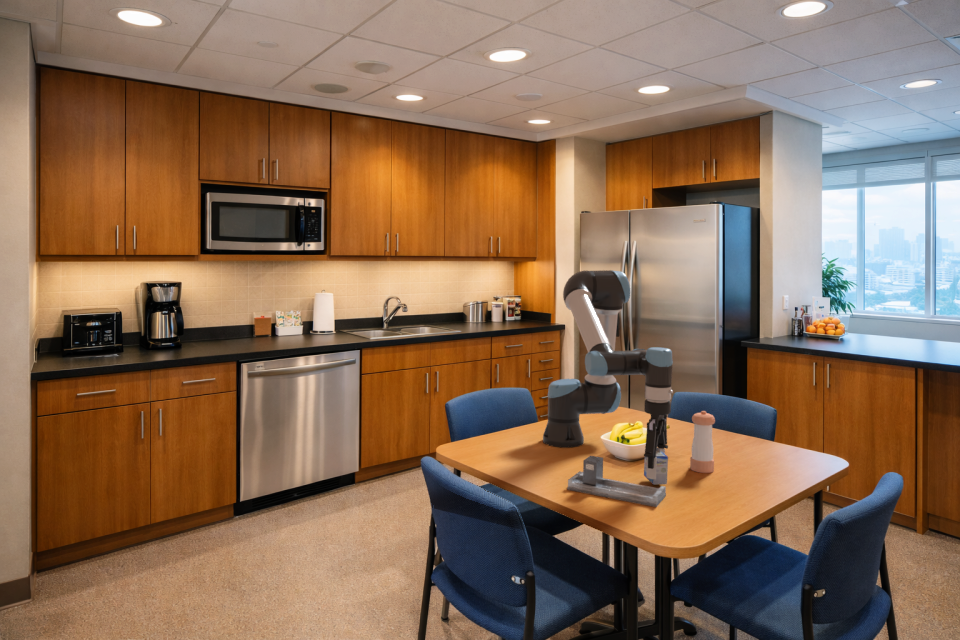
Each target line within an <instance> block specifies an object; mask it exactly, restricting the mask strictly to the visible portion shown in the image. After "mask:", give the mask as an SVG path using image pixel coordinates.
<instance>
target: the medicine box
mask: <svg viewBox="0 0 960 640" xmlns="http://www.w3.org/2000/svg"><path fill="white" fill-rule="evenodd" d="M649 453H650V452H649ZM656 457H657V467H656V480H655V479H649V478H646V470H647V457H645V456H644V462H643V463H644V464H643V465H644V466H643V467H644V468H643V476H644V477H645V478H646V479H647V480H648V481H649V482H650V483H651V484H652V485H668V467H669V465H668V464H669V457H668V455H666V453H665V454H664V453H663V452H662V451H660V450H659V449H657V451H656Z"/></svg>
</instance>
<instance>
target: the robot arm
mask: <svg viewBox="0 0 960 640" xmlns="http://www.w3.org/2000/svg"><path fill="white" fill-rule="evenodd" d="M629 281H630V280H629V279H628V277H627V275H626V273H624V272H623V271H621V270H620V271H619V270H611V269H610V270H604V269H603V270H581V271H577V272H576V273H574V274H573V275H571V276H570V277H569V278H568V280H567V281H566V283H564V287H563V291H562V299H563V301H564V304H565V307H566V308H567V309H568V310H569V311H571V313H572V316H573V318H574V321H575V324H576V326H577V328H578V331H579V333H580V334H579V335H580V336H581V338H582V340H583V343H584V345H585V348H586V350H587V351H586V352H587V353H586V354H585V357H584V365H585V370H586V372H587V374H586V375H585V376H584V382H581V381H580V380H579V379H576V378H561V379H557V380H554V381H551V382H550V384H549V385H548V389H547V391H548V392H547V424H546V426H545V429H544V432H543V434H542V442H543V444H545V445H548V446H550V447H555V448H575V447H580V445H581V446H583V445H584V442H585V441H584V439H585V438H584V434H583V431H582V427H581V424H580V415H592V414H593V415H594V414H596V415H597V414H601V415H605V414H611V413H614V412H615V411H617V410H618V408H619V406H620V403H621V400H622V391H621V390H622V389H621V386H620V384H619V382H617V379H616V377H615V376H630V375H631V376H632V375H633V376H635V375H638V376H639V375H642V376H645V380H644V382H645V384H644V398H645V400H644V412H645V413H646V414H649V415H650V418H649V420H648V422H646V435H645V447H644V448H645V449H644V453H643V457H644V458H645V457H647V470H646V477H645V478H646V479H647V478H649V479H655V480H656V467H657V457H656V451H657V449H659V450H660V451H662V452H663V453H664V454H665V455H666V450H667V449H668V448H669V445H668V428H667V427H668V426H667V423H668V422H667V420H668V415H670V414H671V413H672V412H671V411H672V408H671V407H672V402H671V401H670V400H672V394H674V391H673V389H672V383H673V382H672V381H673V380H672V379H673V363H674V360H673V351H672V349H670V348H667V347H660V346H659V347H658V346H656V347H655V346H653V347H648V348H647V349H645V348H635V349H632V350H615V349H616V339H617V326H618V314H619V313H620V312H621V311H622V310H623V305H624V304H626V303H628V302H629V300H630V297H631V285H630V282H629ZM649 452H650V453H649Z"/></svg>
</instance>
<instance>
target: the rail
mask: <svg viewBox="0 0 960 640" xmlns="http://www.w3.org/2000/svg"><path fill="white" fill-rule="evenodd" d="M582 468H583V469H582V470H583V471H581V470H580V471H578V472H577V473H575V474H574V475H573V476H571V477H570V478H569V479H568V480H567V487H566V488H567V491H573V492H576V493H577V492H578V493H583V494H586V495H594V496H598V497H603V498H608V499H613V500H617V501H623V502H627V503H628V502H629V503H631V504H632V503H633V504H638V505H644V506H647V507H653V508H657V507H658V506H659V505H660V504H661V502H662V501H663V500H664V499H665V497H666V496H667V492H666V489H667V488H666V486H663V485H661V486H660V487H655V486H654V487H653V486H648V485H644V484H638V483H632V482H627V481H621V480H617V479H616V480H615V479H609V478H604V457H601V456H595V455H589V456H588V457H586V458H585V459H583V467H582Z"/></svg>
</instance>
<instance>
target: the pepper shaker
mask: <svg viewBox="0 0 960 640" xmlns="http://www.w3.org/2000/svg"><path fill="white" fill-rule="evenodd" d="M691 420H692V423H693V424H694V425H693V428H694V429H693V439H692V444H691V456H690V458H689V461H690V463H689V464H690V465H689V469H690V470H691V471H693V472H697V473H701V474H702V473H703V474H709V473H710V474H711V473H713V472H714V470H715V459H714V445H713V444H714V443H713V425H714V424H715V423H716V418H715V416H714V415H713V414H712V413H711V414H710V413H707V411H706V410H701V411H700V412H696V413H694V414H693V415H692V417H691Z"/></svg>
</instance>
